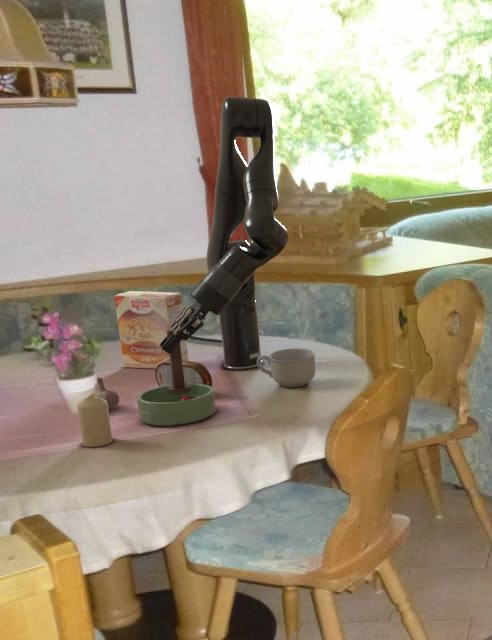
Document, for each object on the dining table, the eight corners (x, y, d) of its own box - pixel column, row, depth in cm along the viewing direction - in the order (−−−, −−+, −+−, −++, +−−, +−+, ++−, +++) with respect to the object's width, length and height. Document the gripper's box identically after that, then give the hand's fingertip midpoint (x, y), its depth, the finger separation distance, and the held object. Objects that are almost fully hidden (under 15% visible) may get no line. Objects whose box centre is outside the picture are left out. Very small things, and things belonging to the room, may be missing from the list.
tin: (214, 396, 244) (211, 362, 242) (205, 399, 242) (201, 365, 239) (165, 390, 249) (160, 356, 247) (155, 393, 246) (150, 360, 244)
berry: (178, 408, 233) (176, 397, 232) (190, 406, 235) (189, 394, 234) (183, 411, 231) (181, 399, 230) (195, 408, 233) (194, 397, 232)
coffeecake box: (122, 367, 270) (112, 295, 265) (139, 360, 276) (130, 290, 271) (174, 370, 267) (165, 297, 262) (190, 363, 274) (181, 291, 269)
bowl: (129, 416, 229) (126, 393, 228) (198, 402, 240) (195, 379, 238) (156, 432, 218) (153, 407, 217) (227, 416, 229) (225, 392, 228)
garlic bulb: (104, 416, 229) (100, 382, 227) (78, 413, 231) (73, 379, 229) (129, 406, 236) (125, 373, 234) (103, 404, 238) (98, 371, 236)
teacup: (324, 379, 259) (321, 348, 257) (306, 391, 249) (303, 359, 247) (271, 377, 260) (268, 347, 258) (251, 389, 250) (248, 357, 248)
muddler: (163, 391, 226) (156, 330, 222) (186, 387, 229) (179, 326, 226) (173, 396, 222) (165, 333, 219) (195, 391, 226) (188, 329, 222)
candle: (89, 438, 214) (83, 393, 212) (116, 438, 215) (110, 392, 212) (78, 447, 209) (71, 401, 206) (106, 446, 209) (99, 400, 207)
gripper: (198, 273, 229) (145, 333, 226) (208, 282, 218) (153, 345, 214) (225, 294, 233) (174, 353, 230) (237, 304, 222) (183, 366, 218)
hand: (164, 349), depth 222 cm, fingers closed on muddler, 2 cm apart
